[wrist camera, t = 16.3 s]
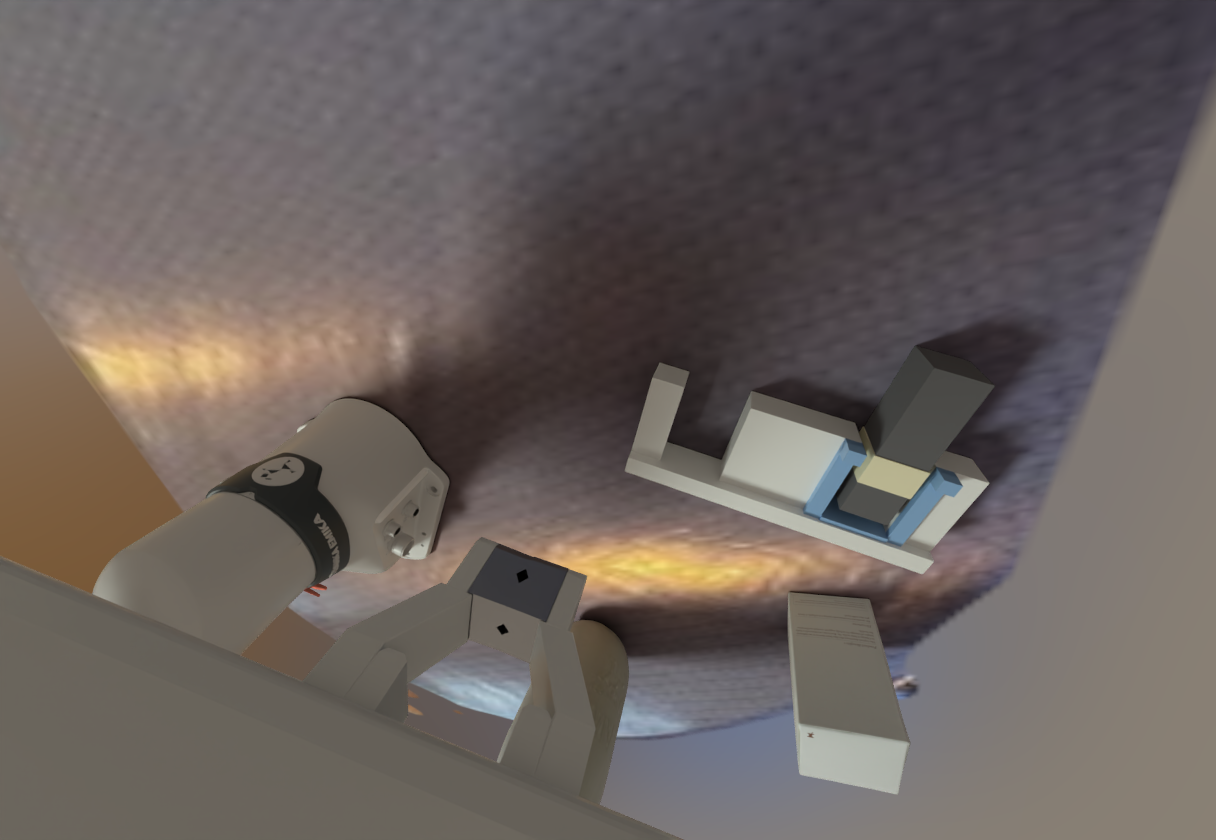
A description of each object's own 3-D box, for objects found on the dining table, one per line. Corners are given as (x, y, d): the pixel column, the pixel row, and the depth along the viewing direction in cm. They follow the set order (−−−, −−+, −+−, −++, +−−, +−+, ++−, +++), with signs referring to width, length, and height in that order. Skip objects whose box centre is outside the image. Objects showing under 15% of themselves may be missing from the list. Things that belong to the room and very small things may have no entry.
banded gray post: (876, 492, 37) (889, 527, 33) (830, 477, 37) (838, 509, 34) (970, 361, 30) (997, 386, 27) (913, 344, 31) (933, 368, 27)
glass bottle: (652, 654, 55) (575, 1018, 32) (586, 662, 60) (477, 984, 36) (610, 598, 52) (491, 953, 29) (544, 611, 57) (397, 926, 34)
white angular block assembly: (907, 537, 38) (925, 580, 34) (635, 445, 41) (622, 475, 37) (971, 459, 33) (1000, 498, 29) (659, 362, 36) (648, 386, 32)
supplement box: (786, 639, 47) (795, 776, 37) (787, 589, 44) (797, 723, 34) (866, 649, 45) (899, 798, 35) (873, 597, 42) (912, 745, 31)
